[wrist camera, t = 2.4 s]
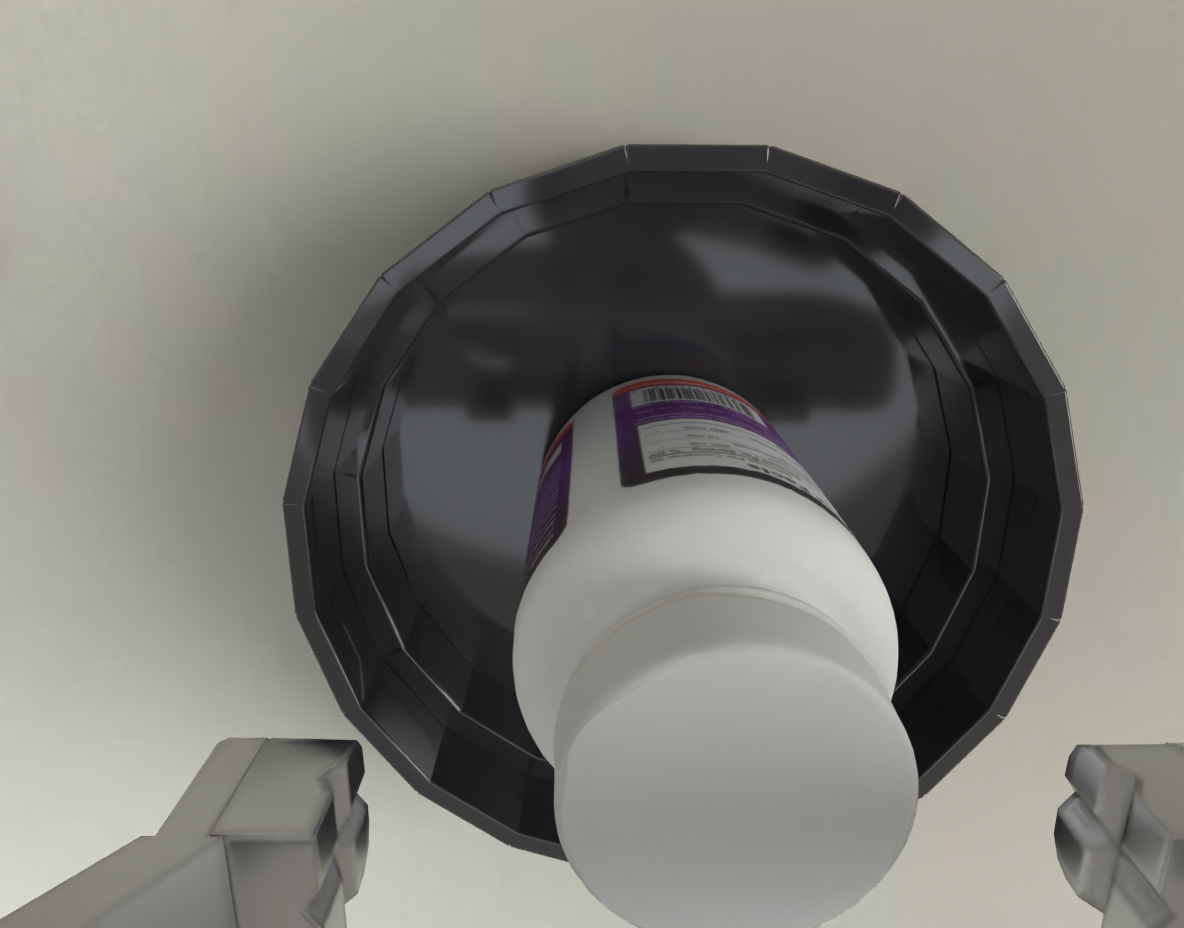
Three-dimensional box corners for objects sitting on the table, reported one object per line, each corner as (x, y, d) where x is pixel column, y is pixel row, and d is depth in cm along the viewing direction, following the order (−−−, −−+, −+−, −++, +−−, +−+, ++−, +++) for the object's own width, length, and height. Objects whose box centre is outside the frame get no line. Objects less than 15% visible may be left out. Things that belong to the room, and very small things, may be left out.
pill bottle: (639, 649, 20) (680, 1066, 11) (486, 472, 18) (379, 773, 9) (840, 513, 19) (1080, 844, 9) (694, 315, 17) (807, 477, 8)
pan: (315, 148, 17) (238, 141, 13) (1038, 152, 17) (1156, 146, 13) (369, 755, 21) (324, 873, 17) (941, 759, 21) (1010, 877, 17)
